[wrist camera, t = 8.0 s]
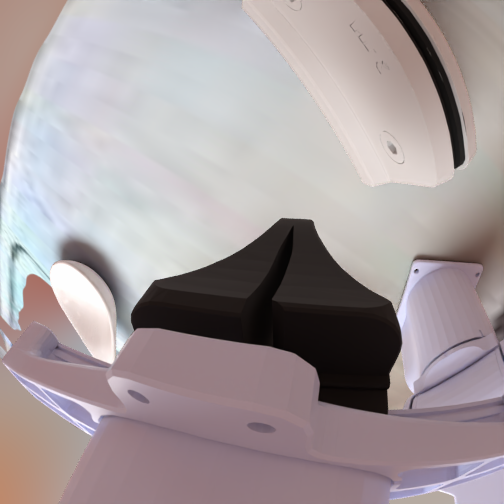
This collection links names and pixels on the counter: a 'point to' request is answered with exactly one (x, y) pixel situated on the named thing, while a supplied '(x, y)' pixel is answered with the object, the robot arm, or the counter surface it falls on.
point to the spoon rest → (87, 306)
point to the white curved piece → (378, 83)
